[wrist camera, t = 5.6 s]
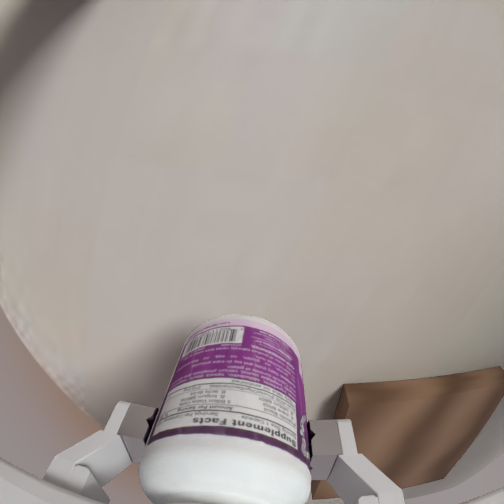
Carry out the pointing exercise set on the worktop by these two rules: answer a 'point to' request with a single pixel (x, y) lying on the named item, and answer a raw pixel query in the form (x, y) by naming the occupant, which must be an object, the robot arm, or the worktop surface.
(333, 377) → the worktop surface
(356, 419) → the walnut board
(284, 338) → the pill bottle
